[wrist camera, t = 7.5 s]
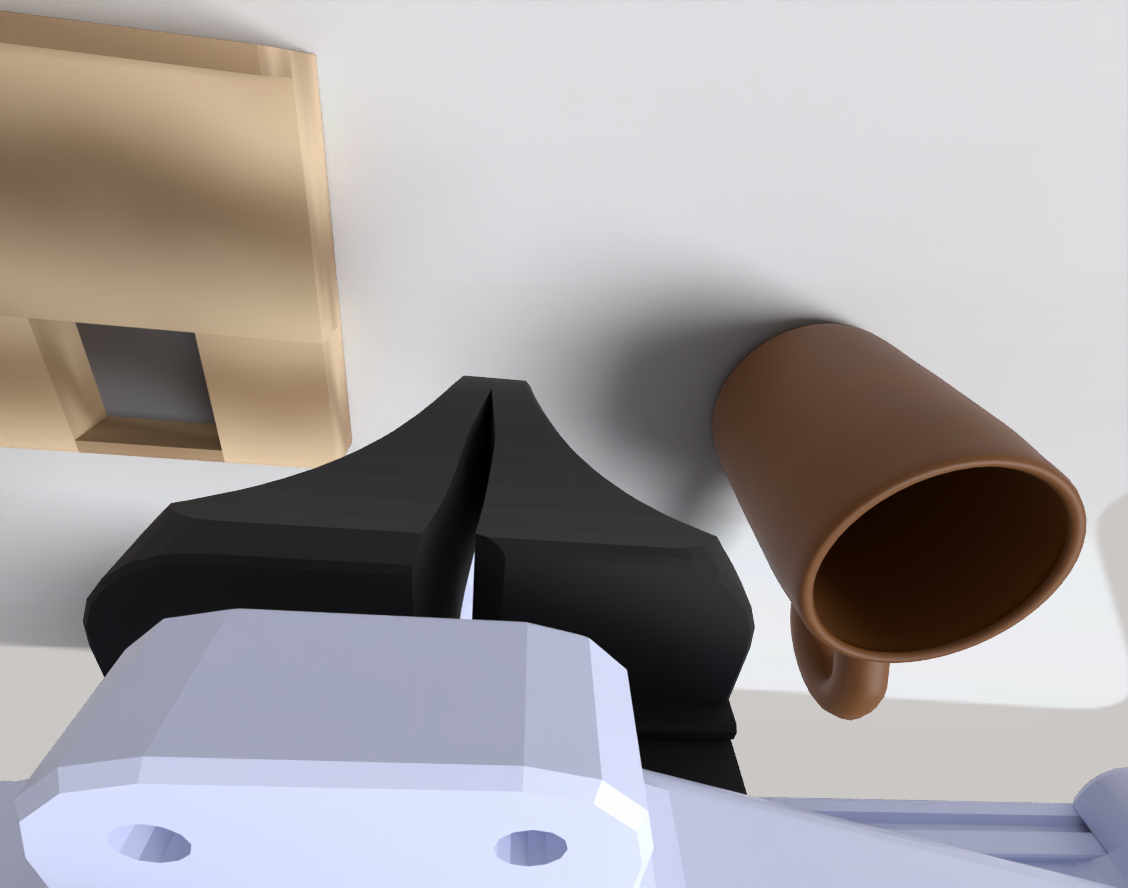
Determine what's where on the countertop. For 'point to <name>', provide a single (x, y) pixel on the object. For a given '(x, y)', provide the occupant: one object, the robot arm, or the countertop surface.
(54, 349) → the platform
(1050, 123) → the countertop surface
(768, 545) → the mug
